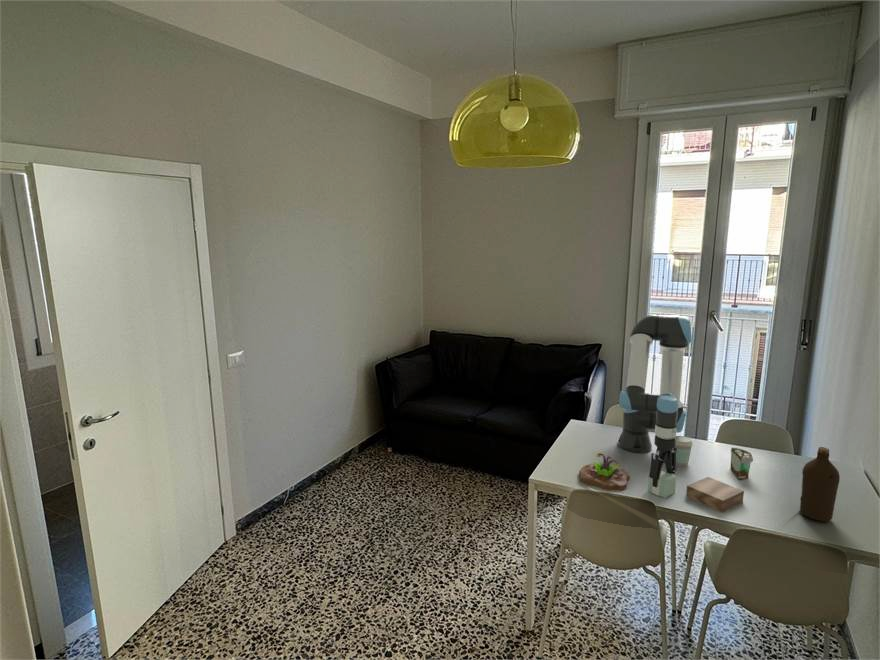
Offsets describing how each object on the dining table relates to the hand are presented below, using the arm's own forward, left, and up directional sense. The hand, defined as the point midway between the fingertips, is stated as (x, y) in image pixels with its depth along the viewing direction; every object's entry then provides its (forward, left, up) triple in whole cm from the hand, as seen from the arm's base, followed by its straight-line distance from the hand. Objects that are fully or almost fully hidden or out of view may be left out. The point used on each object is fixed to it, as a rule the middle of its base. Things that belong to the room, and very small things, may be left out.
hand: (661, 491), depth 198 cm
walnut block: (+15, +11, -1) cm, 19 cm away
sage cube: (0, 0, 0) cm, 0 cm away
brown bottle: (+41, +30, 0) cm, 51 cm away
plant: (-21, -9, -1) cm, 23 cm away
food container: (+11, +41, 0) cm, 43 cm away
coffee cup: (-10, +30, 0) cm, 32 cm away
